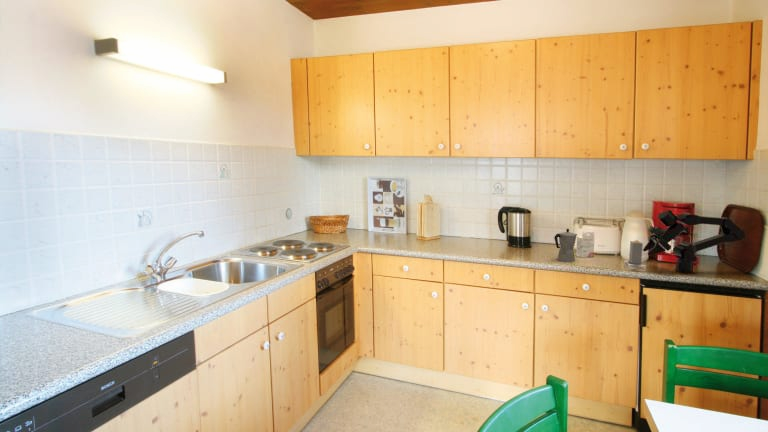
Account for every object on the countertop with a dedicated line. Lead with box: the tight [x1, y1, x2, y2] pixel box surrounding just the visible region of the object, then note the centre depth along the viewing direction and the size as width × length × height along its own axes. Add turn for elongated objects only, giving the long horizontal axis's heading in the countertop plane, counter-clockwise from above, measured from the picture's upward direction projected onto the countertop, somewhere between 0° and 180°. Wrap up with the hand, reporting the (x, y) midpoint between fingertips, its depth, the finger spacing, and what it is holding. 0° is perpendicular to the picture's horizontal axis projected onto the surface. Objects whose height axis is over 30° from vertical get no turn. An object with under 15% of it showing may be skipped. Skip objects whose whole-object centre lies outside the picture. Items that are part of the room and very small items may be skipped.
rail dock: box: [623, 260, 647, 273], centre depth 233 cm, size 8×9×3 cm
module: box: [628, 239, 644, 265], centre depth 232 cm, size 4×5×14 cm
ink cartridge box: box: [575, 231, 595, 259], centre depth 261 cm, size 9×5×15 cm, turn 105°
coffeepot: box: [553, 228, 578, 263], centre depth 251 cm, size 15×9×18 cm, turn 110°
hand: (645, 252), depth 231 cm, fingers open, 9 cm apart
